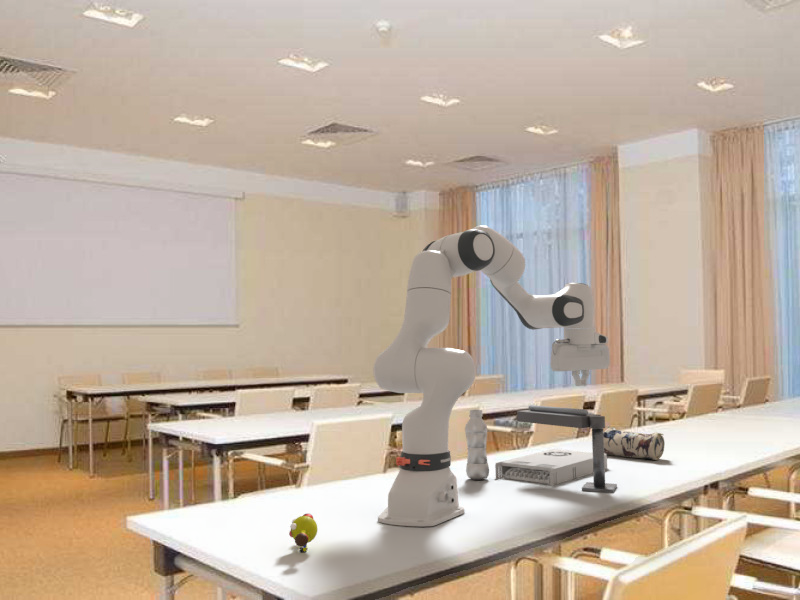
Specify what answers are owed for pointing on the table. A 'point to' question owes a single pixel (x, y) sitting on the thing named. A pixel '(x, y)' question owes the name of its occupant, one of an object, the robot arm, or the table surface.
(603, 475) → the post
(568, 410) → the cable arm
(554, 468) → the power supply unit
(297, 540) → the toy figure
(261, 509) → the table surface
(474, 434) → the plastic bottle
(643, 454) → the pencil case
